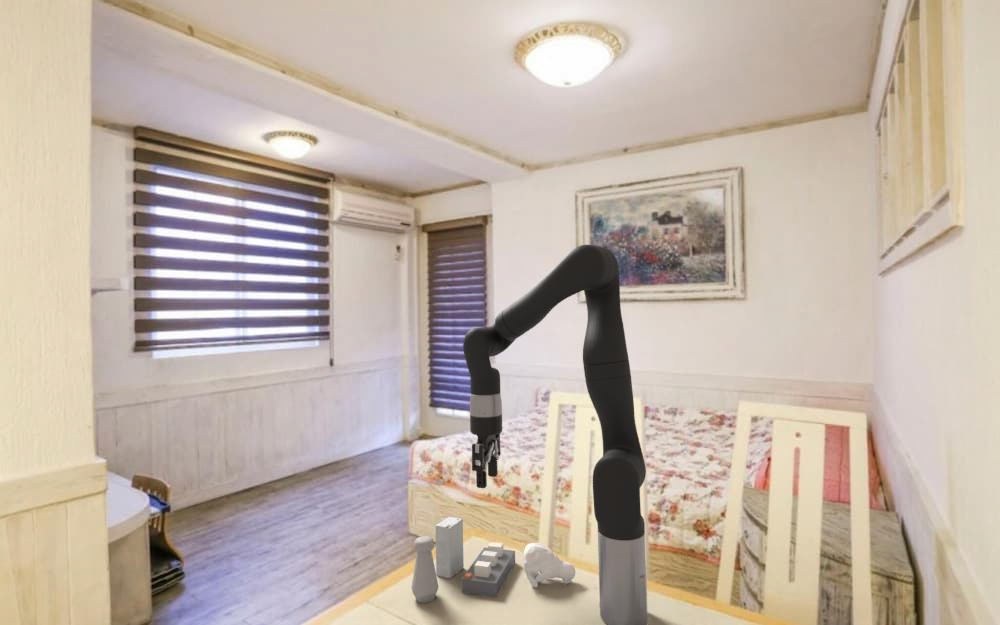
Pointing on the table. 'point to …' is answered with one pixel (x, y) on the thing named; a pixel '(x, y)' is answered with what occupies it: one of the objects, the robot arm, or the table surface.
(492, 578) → the panel
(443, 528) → the skincare box
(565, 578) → the whiskered white figurine
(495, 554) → the block
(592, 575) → the table surface
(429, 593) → the salt shaker
